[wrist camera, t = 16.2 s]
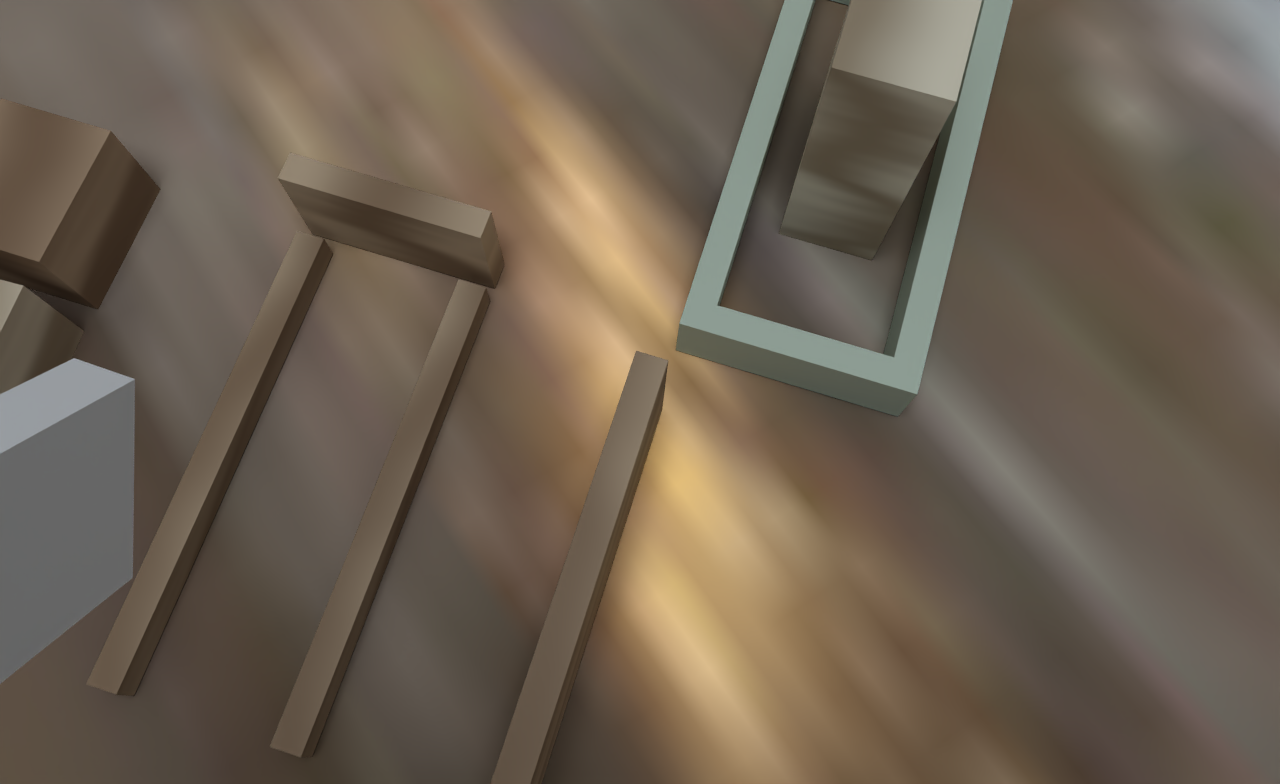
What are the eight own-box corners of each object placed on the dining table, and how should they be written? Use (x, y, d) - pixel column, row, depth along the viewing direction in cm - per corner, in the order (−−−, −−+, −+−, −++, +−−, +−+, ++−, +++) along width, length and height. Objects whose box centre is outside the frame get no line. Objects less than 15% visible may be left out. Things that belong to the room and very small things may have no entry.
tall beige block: (908, 123, 39) (999, -70, 30) (871, 260, 38) (956, 101, 28) (819, 98, 40) (881, -100, 30) (778, 233, 38) (831, 67, 28)
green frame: (994, 22, 41) (1017, -21, 39) (897, 416, 36) (917, 394, 33) (798, -30, 42) (809, -76, 39) (675, 350, 36) (679, 323, 34)
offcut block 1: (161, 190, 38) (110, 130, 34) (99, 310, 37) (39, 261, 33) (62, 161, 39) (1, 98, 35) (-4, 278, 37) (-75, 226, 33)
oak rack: (691, 319, 37) (701, 258, 32) (515, 864, 31) (496, 888, 26) (24, 121, 39) (-59, 36, 34) (-252, 599, 33) (-398, 577, 28)
